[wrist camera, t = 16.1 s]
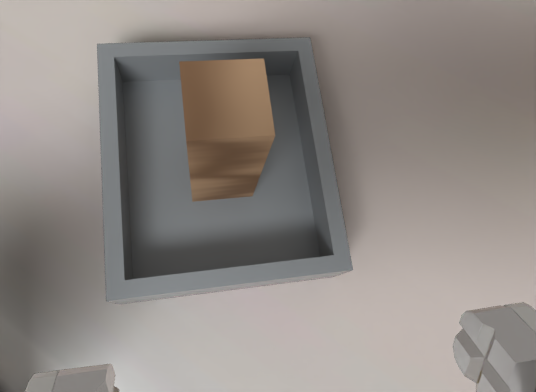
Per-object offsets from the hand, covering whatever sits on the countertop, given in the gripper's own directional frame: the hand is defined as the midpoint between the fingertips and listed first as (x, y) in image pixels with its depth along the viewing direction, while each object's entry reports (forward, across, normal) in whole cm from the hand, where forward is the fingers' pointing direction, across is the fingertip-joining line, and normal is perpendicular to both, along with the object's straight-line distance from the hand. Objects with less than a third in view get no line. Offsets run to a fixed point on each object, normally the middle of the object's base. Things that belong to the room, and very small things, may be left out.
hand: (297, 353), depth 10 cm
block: (+20, 0, +5) cm, 21 cm away
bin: (+21, 0, +5) cm, 21 cm away
